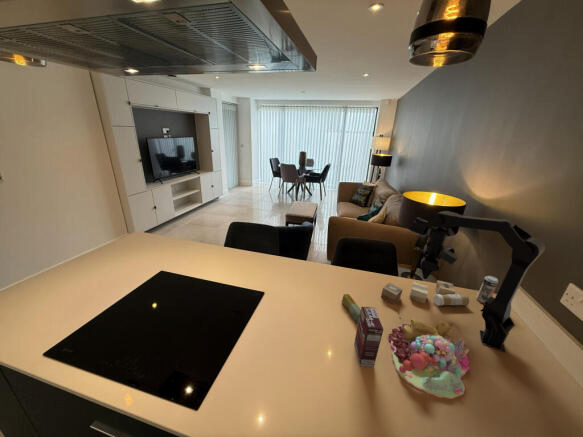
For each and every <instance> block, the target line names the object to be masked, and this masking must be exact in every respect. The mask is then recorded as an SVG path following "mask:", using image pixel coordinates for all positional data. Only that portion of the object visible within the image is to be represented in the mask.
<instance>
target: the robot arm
mask: <svg viewBox="0 0 583 437" xmlns="http://www.w3.org/2000/svg"><path fill="white" fill-rule="evenodd" d="M452 228H467V229H473V230H481V231H489V232H495V233H496V232H498V233H499V234H500V235H501V237H503V239H504V241H505V242H506V244H507V245H508V246H509V247H510V248H511V249H512V250H511V256H510V266H509V268H508V269H507V272H506V274H505V276H504V279H503V281H502V283H501V284H500V287H499V289H498V290H497V293H496V295H495V297H493V295H492V296H491V297H490V298H489V299H488V300H487V301H485V303H483V307H482V309H480V312H481V318H482V319H483V321H484V327H485V328H484V330H479V335H480V341H481V344H484V345H486V346H489V347H491V348H494V349H496V350H498V351H501V352H503V353H505V352H506V348H505V342H506V340H507V338H508V336H509V334H510V332H511V330H513V328H515V325H516V324H515V323H514V322H515V321H513V319H512V317H511V312H512V302H513V299H514V297H515V295H516V294H517V291H518V289H519V287H520V286H521V284H522V282H523V280H524V278H525V276H526V274H527V272H528V270H529V268H530V267H531V266H532V265H533V264H534V263H535V261H537V259H538V258H540V256H541V255H542V254H543V253H544V252H545V250H546V245H545V243H544V242H543V241H542V240H541V239H539V238H536V237H534V236H533V235H531V234H530V233H529V232H528V231H527V230H525V229H523V228H522V227H520V226H518V224H516V223H515V222H514V221H513V220H511V219H502V218H501V219H500V218H489V217H479V216H468V215H463V214H459V213H458V212H453V211H449V210H444V211H440V212H437V213H436V212H435V214H433V215H432V218H431V219H430V220H425V219H423V218H421V217H419V216H418V217H415V220H414V221H413V222H412V224H410V227H409V230H410V233H411V232H412V233H414V234H416V235H418V236H421V237H423V238H426V237H427V236H428V238H427V242H426V244H424V247H423V253H422V254H423V257H422V258H421V261H420V265H419V266H420V268H421V272H422V273H421V274H422V278H423V279H424V280H427V279H428V277H429V276H430V275H431V274H432V273H433V272H439V269H440V268H441V266H440V264H441V263H440V261H439V260H442V261H443V260H444V261H445V262H447V263H448V264H449V265H453V264H454V263H455V262H456V261H458V255H457V253H455V252H456V251H455V250H456V249H455V248H454V247H452V246H450V247H448V248H447V247H446V248H445V242H446V239H447V236H448V237H451V236H453V235H455V232H454V231H453V230H452Z"/></svg>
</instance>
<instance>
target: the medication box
mask: <svg viewBox="0 0 583 437" xmlns="http://www.w3.org/2000/svg"><path fill="white" fill-rule="evenodd" d="M341 303H342V304H343V306H344V308H345V309H346V310H347V312H348V313H349V315H350V316H351V317H352V319H353V321H354V322H355V323H356V324H358V322H359V316H360V311H361V307H360V306H359V305H358V304H357V303H356V301H355V300H354V299H353V297H352V296H351V295H350V294H349V293H344V294H343V296H342V299H341Z"/></svg>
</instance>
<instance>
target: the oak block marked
mask: <svg viewBox="0 0 583 437" xmlns="http://www.w3.org/2000/svg"><path fill="white" fill-rule="evenodd" d="M434 292H435V295H436V294H440V295H447V294H456V293H457V292H456V289H455V287H454V284H453V283H450V282H447V281H443V280H437V282H436V284H435V288H434Z"/></svg>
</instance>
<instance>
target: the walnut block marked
mask: <svg viewBox="0 0 583 437" xmlns="http://www.w3.org/2000/svg"><path fill="white" fill-rule="evenodd" d="M402 293H403V288H401V287H399V286H397V285H396V284H394V283H391V282H388V283H387V284H386V285H385V286H383V287H382V291H381V294H380V298H382V299H383V300H386V301H388V302H389V303H391V304H393V305H396V303H397V302H398V301H400V299H401V298H402V297H401V296H402Z"/></svg>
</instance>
